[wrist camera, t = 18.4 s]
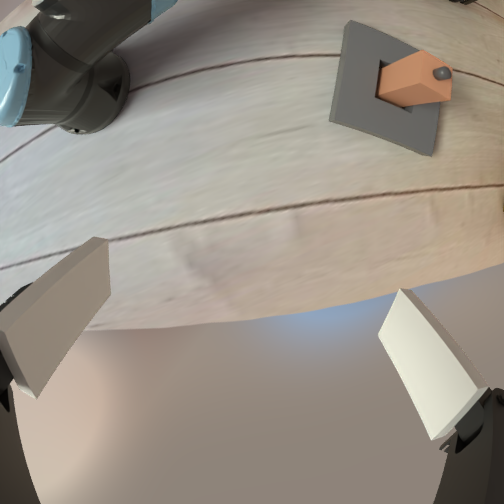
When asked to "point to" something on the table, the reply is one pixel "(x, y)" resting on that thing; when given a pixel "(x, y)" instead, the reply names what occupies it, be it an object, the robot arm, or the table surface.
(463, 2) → the french press
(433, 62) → the plug
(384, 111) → the socket
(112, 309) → the table surface
